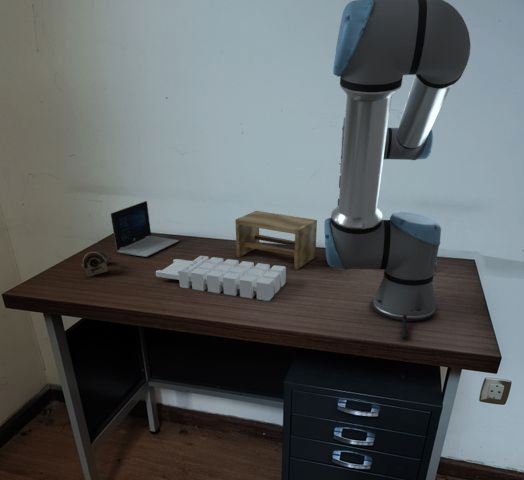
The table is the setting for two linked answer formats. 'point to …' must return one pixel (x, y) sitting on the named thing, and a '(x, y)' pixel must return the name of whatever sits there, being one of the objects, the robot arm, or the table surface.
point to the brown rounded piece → (95, 263)
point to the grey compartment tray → (227, 276)
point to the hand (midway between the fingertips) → (346, 250)
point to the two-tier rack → (289, 224)
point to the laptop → (136, 232)
